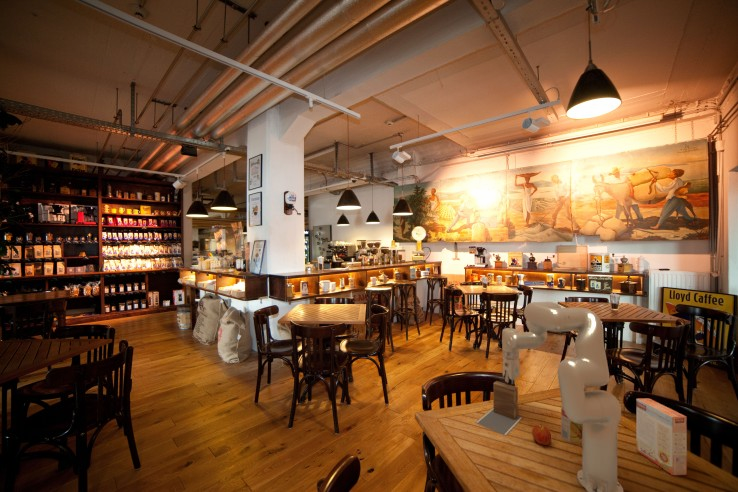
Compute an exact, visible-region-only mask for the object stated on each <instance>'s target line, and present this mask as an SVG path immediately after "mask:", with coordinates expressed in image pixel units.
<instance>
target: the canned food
mask: <svg viewBox="0 0 738 492" xmlns="http://www.w3.org/2000/svg"><path fill="white" fill-rule="evenodd" d="M560 412H561V413H560V415H561V416H560V417H561V418H560V422H561V423H560V424H561V426H560V427H561V428H560V429H561V431H560V432H561V433H560V434H561V438H562V439H564V440H565V441H567V442H569V443H571V444H577V445H581V444H582V430H583V424H577V423H574V422H572V421H571V420H570V419H569V418H568V417H567V415H566V414H565V412H564V409H563V406H562V405H561V411H560ZM580 443H581V444H580Z"/></svg>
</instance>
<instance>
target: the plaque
mask: <svg viewBox="0 0 738 492" xmlns="http://www.w3.org/2000/svg"><path fill="white" fill-rule="evenodd" d="M518 389H519V387H517V386H516V385H515V386H512V385H508V384H507V383H506V382H501V381H498V380H496V381H494V382H493V407H494V412H495V413H498V414H500V415H503V416H506V417H508V418H511V419H513V420H515V419H516V418H517V417H518V416H519V415H518V414H519V408H518V404H519V403H518V397H519V396H518V395H519V394H518V393H519V391H518Z"/></svg>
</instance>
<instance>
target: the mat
mask: <svg viewBox="0 0 738 492" xmlns="http://www.w3.org/2000/svg"><path fill="white" fill-rule="evenodd" d="M522 419H524V417H522V416H519V415H518V417H517V418H516V419H515V420H513V419H511V418H508V417H506V416H503V415H500V414H498V413H495V412H494V406H493V407H492V408H491V409H489V410H488V411H486V412H485V414H483V415H482V416H481V417H480V418H479V419H477V420H476V421H475V424H477V425H478V426H479V425H480V426H482V427H484V428H487V429H489V430H491V431H493V432H496V433H498V434H501V435H503V436H506V437H507V436H508V435H509V433H511V432H512V431H513V429H514V428H515V427H516V426H517V425H518V424H519V423H520V422H521V421H522Z"/></svg>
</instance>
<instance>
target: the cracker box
mask: <svg viewBox="0 0 738 492" xmlns="http://www.w3.org/2000/svg"><path fill="white" fill-rule="evenodd" d="M635 400H636V406H635V407H636V415H635V416H636V427H635V428H636V432H635V433H636V434H635V435H636V439H635V441H636V445H635V446H636V451H637V452H638V453H640V454H641V455H642V456H644V457H645V458H646V457H647V458H646V459H648V460H649V461H651V462H652V463H654V464H655V465H656V466H658V467H659V466H660V467H659V468H661V469H662V468H663V469H662V470H664V471H665V472H666V473H668V474H669V473H670V475H671V476H687V474H688V473H687V472H688V471H687V469H688V467H687V466H688V465H687V464H688V459H687V458H688V457H687V454H688V453H687V451H688V450H687V449H688V448H687V445H688V444H687V439H688V438H687V437H688V435H687V434H688V432H687V431H688V430H687V428H688V427H687V421H688V420H687V416H686V415H684V414H682V413H679V412H678V411H676V410H674V409H672V408H670V407H667V406H665V404H661V403H659V402H657V401H656V400H653V399H652V398H647V397H646V398H636V399H635Z"/></svg>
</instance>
